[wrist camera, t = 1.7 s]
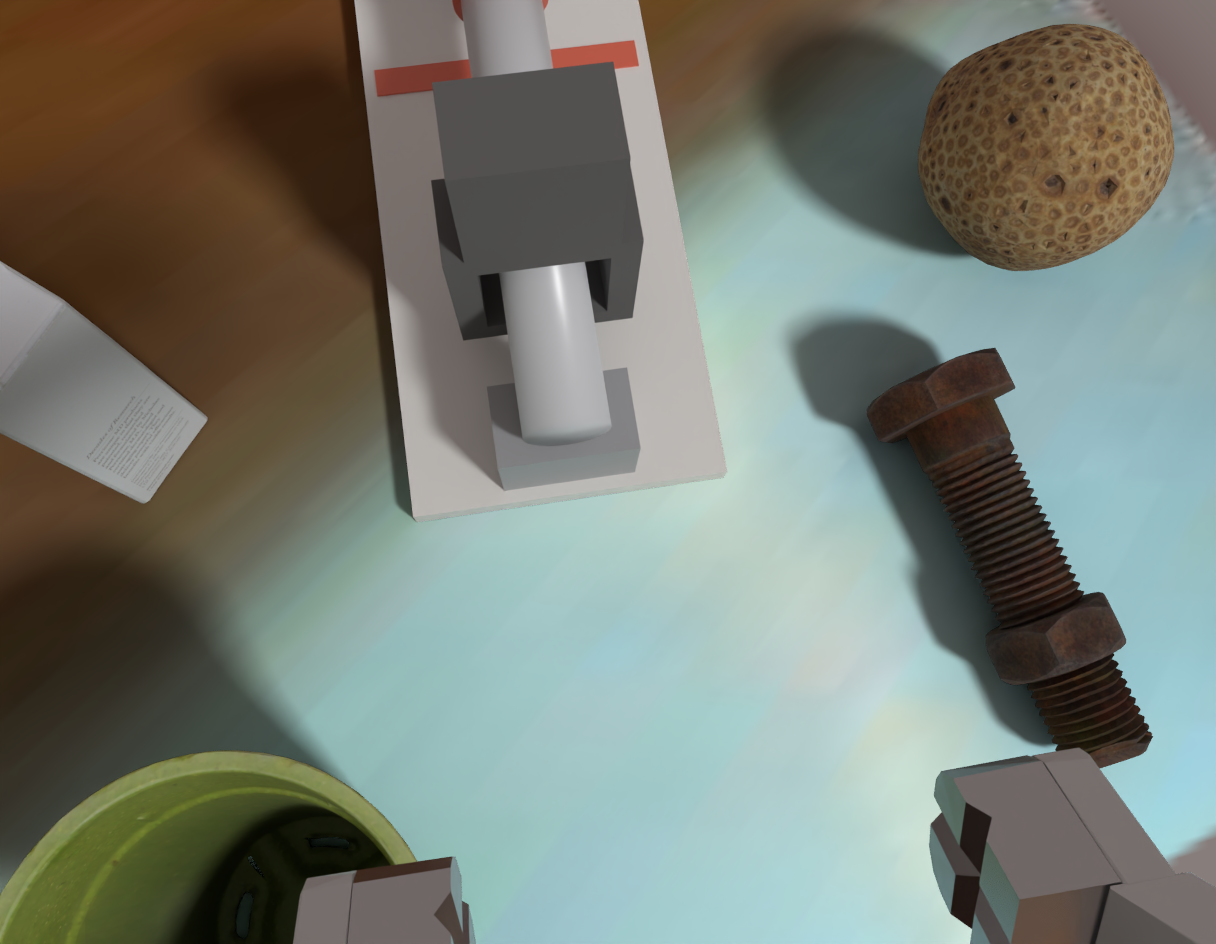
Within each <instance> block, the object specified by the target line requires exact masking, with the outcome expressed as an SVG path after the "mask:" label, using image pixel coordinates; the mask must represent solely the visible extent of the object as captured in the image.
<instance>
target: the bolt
mask: <svg viewBox="0 0 1216 944" xmlns="http://www.w3.org/2000/svg"><path fill="white" fill-rule="evenodd" d="M1013 389H1015V385H1014V383H1013V381H1012V379H1011V377H1010V375H1009V373H1008V371H1007V369H1006V367H1005V365H1004V363H1003V361H1002V359H1001V357H1000V355H999V353H998V352H997V350H996V348H990V349H983V350H979V351H975V352H972V353H968V354H965V355H962V356H959V357H956V358H954V359H951V360H949V361H947V362H945V363H942V364H940V365H938V366H936V367H933V368H931V369H929V370H927V371H924V372H922V373H920V374H918V375H916V376H914V377H912V378H910V379H908V380H906V381H904V382H902V383H900V384H898V385H896V386H894V387H892V388H890V389H889V390H888V391H886V392H885V393H883V394H882V395H881V396H879V397H878V398H877V399H875V400H874V401H873V402H872V403H871V405H870V406H869V407H868V409H867V416H868V418H869V420H870V422H871V425H872V427H873V429H874V431H875V434H876V436H877V438H878V440H879V441H882V442H888V443H894V442H897V441H899V440H902V439H905V438H907V437H908V440H909V442H910V444H911V446H912V448H913V450H914V452H915V455H916V457H917V459H918V461H919V463H920V465H921V467H922V470H923V471H924V472H925V473H926V474H927V475H928V477H929V479H930V480H932V481H934V482H933V484H932V485H933V487H935V488H938V489H939V491H938V492H937V493H936V494H937V495H938V496H943V497H944V498H943V499H942V500H941V501H940V502H941V503H942V504H946V505H948V506H947V507H946V508H945V509H944V512H949V513H951V515H950V516H949V517H948V519H949V520H951V521H955V522H954V524H953V525H952V528H954V529H959V531H958V532H957V533H956V536H957V537H962V538H963V539H962V541H961V542H960V545H964V546H967V547H966V549H965V550H964V553H967V554H971V555H970V557H969V558H968V559H967V560H968V561H970V562H974V565H973V566H972V568H971V570H976V571H978V573H977V574H976V576H975V578H978V579H982V581H981V583H980V585H979V586H980V587H984V588H986V590H985V591H984V593H983V595H987V596H990V598H989V600H988V602H987V603H990V604H993V605H994V607H993V608H992V610H991V611H992V612H995V613H998V615H997V616H996V618H995V620H997V621H1001V622H1002V623H1001V625H1000V626H999V627H997V628H995V629H993V630H991V631H990V632H989V633H988V634H987V635H986V647H987V651H988V653H989V655H990V657H991V659H992V662H993V664H994V666H995V668H996V670H997V672H998V674H999V677H1000V679H1002V680H1003V681H1004V682H1006V683H1008V684H1011V685H1019V684H1026V683H1029V685H1028V687H1027V688H1028V690H1031V691H1034V692H1033V694H1032V696H1031V698H1033V699H1037V702H1036V705H1035V706H1036V707H1038V708H1042V709H1041V711H1040V713H1039V715H1041V716H1044V717H1046V718H1045V720H1044V724H1045V725H1048V726H1050V727H1049V730H1048V733H1049V734H1051V735H1054V737H1053V739H1052V742H1053V743H1054V744H1058V746H1057V748H1056V749H1055V750H1056V751H1062V750H1067V749H1073V748H1080V749H1082V750H1083V751H1085V752H1086V753H1088V754H1089V755H1090V756H1091V758H1092V759H1093V760H1094V762H1095V763H1096V765H1097V766H1098V767H1099V769H1100V768H1103V767H1106V766H1109V765H1112V764H1115V763H1118V762H1121V761H1124V760H1127V759H1130V758H1133V757H1136V756H1139V755H1141V754H1142V753H1144V752H1145V751H1146V750H1147V747H1148V745H1149V743H1150V741H1151V739H1152V737H1153V736H1152V733H1151V732H1148V731H1147V730H1148V729H1149V725H1148V724H1146V723H1144V716H1142V715H1140V714H1138V713H1139V711H1140V710H1141V709H1140V708H1139V707H1138V706H1136V705H1134V704H1135V700H1136V698H1134V697H1131V696H1129V695H1130V694H1131V689H1129V688H1127V687H1125V685H1126V683H1127V681H1126V680H1125V679H1123V678H1121V676H1122V672H1123V671H1121V670H1118V669H1116V667H1117V666H1118V662H1117V661H1114V660H1112V658H1113V656H1114V654H1113V653H1114V652H1116V651H1117V650H1119V649H1121V648H1122V647H1123V646H1124V645H1125V644H1126V638H1125V636H1124V633H1123V631H1122V629H1121V626H1120V624H1119V622H1118V620H1117V618H1116V616H1115V614H1114V612H1113V610H1112V608H1111V606H1110V604H1109V602H1108V600H1107V598H1106V596H1105V595H1104V594H1103V593H1101V592H1095V593H1090V594H1086V595H1083V593H1084V591H1081V590H1077V588H1078V587H1079V585H1080V583H1079V582H1076V581H1073V579H1074V578H1075V576H1076V574H1074V573H1070V572H1069V570H1070V569H1071V565H1068V564H1064V563H1065V561H1066V559H1067V558H1068V557H1067V556H1063V555H1060V554H1061V552H1062V550H1063V548H1062V547H1056V545H1057V543H1058V542H1059V539H1055V538H1052V536H1053V534H1054V533H1055V531H1054V530H1048V527H1049V526H1050V524H1051V522H1048V521H1043V520H1044V519H1045V517H1046V514H1044V513H1039V512H1040V510H1041V508H1042V506H1041V505H1035V503H1036V501H1037V499H1038V498H1037V497H1032V496H1031V494H1032V493H1033V491H1034V489H1033V488H1027V486H1028V485H1029V483H1030V480H1026V479H1023V478H1024V476H1025V474H1026V471H1019V470H1020V468H1021V466H1022V463H1015V461H1016V459H1017V458H1018V455H1017V454H1011V453H1012V451H1013V450H1014V446H1013V444H1012V442H1011V440H1010V432H1009V430H1008V428H1007V426H1006V424H1005V421H1004V419H1003V417H1002V415H1001V413H1000V411H999V409H998V406H997V404H996V402H995V400H994V399H995V398H997V397H999V396H1001V395H1003V394H1005V393H1007V392H1009V391H1011V390H1013Z"/></svg>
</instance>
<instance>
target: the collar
mask: <svg viewBox="0 0 1216 944" xmlns="http://www.w3.org/2000/svg"><path fill="white" fill-rule="evenodd" d="M432 87H433V95H434V102H435V110H436V117H437V125H438V133H439V140H440V148H441V155H442V163H443V171H444V178H445V179H437V180H431V185H432V192H433V200H434V208H435V216H436V224H437V232H438V239H439V247H440V255H441V263H442V268H443V272H444V275H445V279H446V282H447V286H448V289H449V293H450V296H451V300H452V303H453V307H454V310H455V314H456V317H457V321H458V324H459V328H460V331H461V335H462V338H463V341H464V340H472V339H479V338H486V337H494V336H501V335H508V333H507V326H506V319H505V312H504V305H503V297H502V290H501V283H500V276H499V273H502V272H509V271H517V270H525V269H532V268H540V267H548V266H556V265H563V264H571V263H579V262H585V266H586V272H587V278H588V284H589V290H590V296H591V302H592V308H593V315H594V321H595V323H599V322H606V321H614V320H621V319H629V318H633V311H634V304H635V297H636V291H637V284H638V277H639V270H640V263H641V256H642V250H643V243H644V238H643V233H642V227H641V221H640V216H639V210H638V205H637V199H636V193H635V188H634V182H633V177H632V171H631V165H630V160H631V157H630V152H629V146H628V141H627V135H626V130H625V124H624V118H623V113H622V107H621V102H620V96H619V90H618V85H617V79H616V74H615V68H614V62H604V63H596V64H587V65H579V66H570V67H561V68H553V69H544V70H536V71H527V72H518V73H510V74H501V75H493V76H484V77H475V78H467V79H458V80H449V81H441V82H432Z"/></svg>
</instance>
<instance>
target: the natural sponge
mask: <svg viewBox="0 0 1216 944" xmlns="http://www.w3.org/2000/svg"><path fill="white" fill-rule="evenodd" d="M1173 157H1174V140H1173V131H1172V125H1171V118H1170V114H1169V110H1168V106H1167V102H1166V99H1165V97H1164V94H1163V92H1162V90H1161V87H1160V85H1159V83H1158V82H1157V80H1156V77H1155V75H1154V73H1153V71H1152V69H1151V67H1150V65H1149V64H1148V62H1147V61H1146V59H1145V58H1144V57H1143V56H1142V55H1141V54H1140V52H1139V51H1138V50H1137V49H1136V48H1135V47H1134V46H1133V45H1132V44H1131V43H1130V42H1129V41H1127V40H1126V39H1124V38H1123V37H1121V36H1120V35H1118V34H1116V33H1114V32H1111V31H1108V30H1106V29H1103V28H1099V27H1095V26H1090V25H1080V24H1062V25H1052V26H1048V27H1044V28H1041V29H1037V30H1033V31H1030V32H1026V33H1023V34H1020V35H1018V36H1015V37H1013V38H1010V39H1007V40H1005V41H1002V42H1000V43H997V44H994V45H992V46H989V47H987V48H985V49H982V50H980V51H978V52H976V53H974V54H972V55H970V56H969V57H967V58H965V59H963V60H961V61H960V62H959V63H957V64H956V65H955V66H953V67H952V68H951V69H950V70H949V71H948V72H947V73H946V74H945V76H944V77H943V78H942V80H941V81H940V83H939V84H938V86H937V87H936V89H935V92H934V94H933V96H932V98H931V101H930V103H929V106H928V110H927V114H926V119H925V126H924V130H923V134H922V137H921V143H920V147H919V153H918V172H919V177H920V180H921V184H922V187H923V191H924V194H925V197H926V200H927V202H928V204H929V206H930V207H931V209H932V211H933V213H934V214H935V216H936V217H937V218H938V219H939V221H940V222H941V223H942V225H943V226H944V227H945V229H946V230H947V231H948V232H949V234H950V235H951V236H952V237H953V238H954V239H955V241H956V242H957V243H958V244H959V245H960V246H961V247H963V248H964V249H965V250H966V251H967V252H968V253H969V254H970V255H972V256H974V257H975V258H977V259H979V260H981V261H983V262H984V263H986V264H988V265H991V266H995V267H998V268H1001V269H1006V270H1011V271H1029V270H1039V269H1046V268H1051V267H1055V266H1059V265H1063V264H1066V263H1069V262H1072V261H1074V260H1077V259H1079V258H1081V257H1084V256H1087V255H1089V254H1092V253H1094V252H1096V251H1098V250H1100V249H1101V248H1103V247H1105V246H1107V245H1109V244H1110V243H1112V242H1114V241H1115V240H1117V239H1118V238H1119V237H1121V236H1122V235H1123V234H1125V233H1126V232H1127V231H1128V230H1129V229H1130V228H1131V227H1133V226H1134V225H1135V224H1136V222H1137V221H1138V220H1139V219H1141V217H1142V216H1143V215H1144V214H1145V213H1146V212H1147V211H1148V210H1149V209H1150V208H1151V206H1152V205H1153V204H1154V202H1155V200H1156V199H1157V197H1158V196H1159V194H1160V192H1161V191H1162V189H1163V188H1164V186H1165V184H1166V182H1167V179H1168V176H1169V173H1170V169H1171V165H1172V161H1173Z"/></svg>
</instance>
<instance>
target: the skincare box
mask: <svg viewBox="0 0 1216 944" xmlns="http://www.w3.org/2000/svg"><path fill="white" fill-rule="evenodd" d="M206 422H207V416H206V415H205V414H203V413H202V412H201V411H200V410H199V409H197V408H196V407H195V406H194V405H192V404H191V403H190V402H189V401H187V400H186V399H185V398H184V397H182V396H181V395H180V394H179V393H178V392H176V391H175V390H174V389H173V388H171V387H170V386H169V385H168V384H166V383H165V382H164V381H163V380H162V379H160V378H159V377H158V376H157V375H155V374H154V373H153V372H152V371H151V370H149V369H148V368H147V367H146V366H145V365H143V364H142V363H141V362H140V361H138V360H137V359H136V358H135V357H134V356H132V355H131V354H130V353H129V352H127V351H126V350H125V349H124V348H122V347H121V346H120V345H119V344H118V343H116V342H115V341H114V340H113V339H112V338H110V337H109V336H108V335H107V334H105V333H104V332H103V331H102V330H100V329H99V328H98V327H97V326H95V325H94V324H93V323H91V322H90V321H89V320H88V319H87V318H85V317H84V316H83V315H82V314H80V313H79V312H78V311H76V310H75V309H74V308H73V307H72V306H70V305H69V304H68V303H67V302H66V301H64V300H63V299H61V298H60V297H58V296H57V295H55V294H53V293H52V292H50V291H48V290H47V289H45V288H43V287H42V286H40V285H39V284H37V283H35V282H34V281H32V280H30V279H29V278H27V277H25V276H24V275H22V274H21V273H19V272H17V271H16V270H14V269H12V268H11V267H9V266H7V265H6V264H4V263H3V262H1V261H0V433H1V434H3V435H5V436H7V437H9V438H11V439H13V440H15V441H17V442H19V443H21V444H23V445H25V446H27V447H29V448H31V449H33V450H35V451H37V452H39V453H41V454H43V455H45V456H47V457H49V458H51V459H53V460H55V461H57V462H59V463H61V464H63V465H65V466H67V467H69V468H71V469H73V470H75V471H78V472H80V473H82V474H84V475H86V476H88V477H90V478H92V479H94V480H96V481H98V482H100V483H102V484H104V485H106V486H108V487H110V488H112V489H114V490H116V491H118V492H120V493H122V494H124V495H126V496H128V497H130V498H132V499H134V500H136V501H138V502H140V503H146V502H148V501H149V500H150V499H151V498H152V496H153V495H154V493H155V492H156V490H157V489H158V488H159V486H160V485H161V483H162V482H163V480H164V479H165V478H166V476H167V475H168V474H169V472H170V471H171V469H172V468H173V467H174V465H175V464H176V462H177V461H178V460H179V458H180V457H181V455H182V454H183V453H184V451H185V450H186V449H187V447H188V446H189V445H190V443H191V442H192V441H193V439H194V438H195V437H196V435H197V434H198V432H199V431H200V430H201V428H202V427H203V426H204V424H205V423H206Z"/></svg>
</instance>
